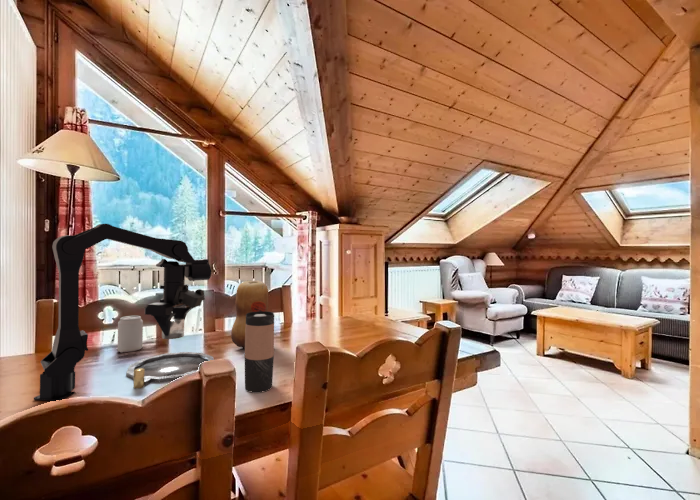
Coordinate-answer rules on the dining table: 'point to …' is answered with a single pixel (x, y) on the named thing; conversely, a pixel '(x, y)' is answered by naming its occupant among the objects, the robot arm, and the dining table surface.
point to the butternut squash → (248, 307)
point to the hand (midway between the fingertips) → (173, 333)
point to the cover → (175, 329)
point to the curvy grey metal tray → (165, 367)
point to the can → (130, 333)
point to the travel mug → (259, 351)
